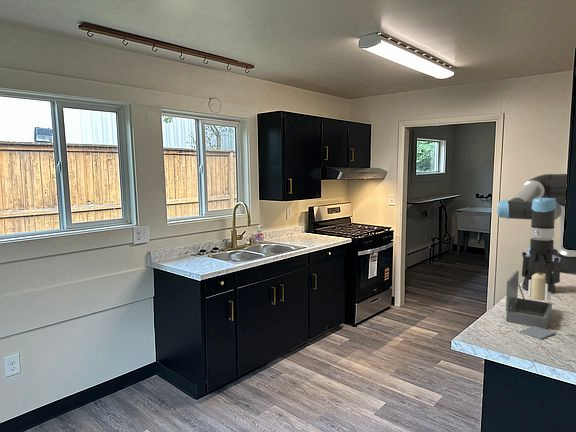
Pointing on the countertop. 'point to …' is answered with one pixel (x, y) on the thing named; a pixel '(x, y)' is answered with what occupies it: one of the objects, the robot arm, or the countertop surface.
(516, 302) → the case
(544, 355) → the countertop surface
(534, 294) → the candle
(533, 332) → the mat
